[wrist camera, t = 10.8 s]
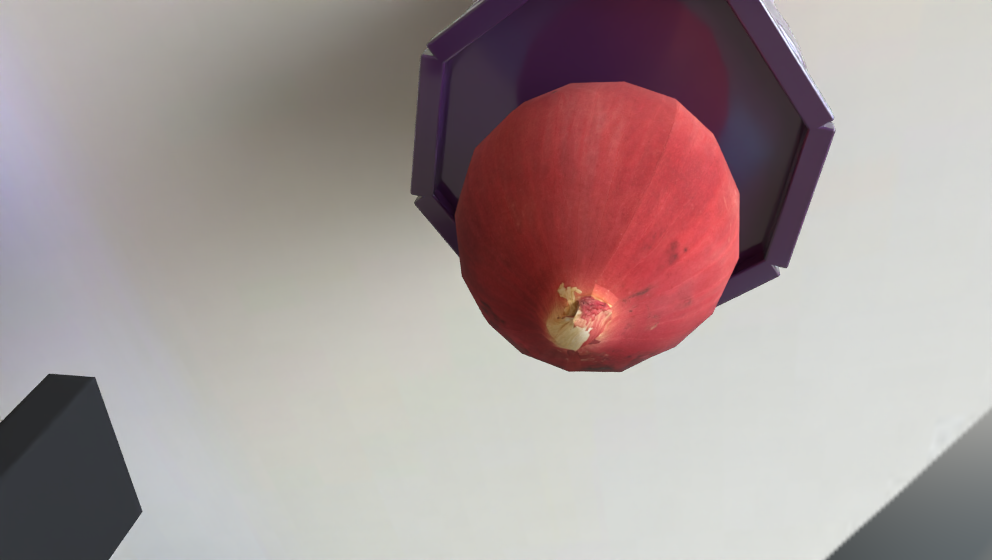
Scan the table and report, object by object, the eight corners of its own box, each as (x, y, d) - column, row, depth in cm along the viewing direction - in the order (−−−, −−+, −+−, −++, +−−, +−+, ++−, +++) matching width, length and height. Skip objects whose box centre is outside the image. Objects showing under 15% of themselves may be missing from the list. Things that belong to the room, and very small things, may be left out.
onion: (729, 260, 22) (743, 487, 16) (504, 258, 24) (429, 468, 17) (738, 28, 20) (760, 188, 13) (480, 40, 21) (378, 192, 14)
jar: (602, 187, 35) (563, 384, 25) (451, -15, 32) (334, 112, 22) (831, 51, 31) (900, 219, 21) (681, -198, 28) (672, -148, 18)
